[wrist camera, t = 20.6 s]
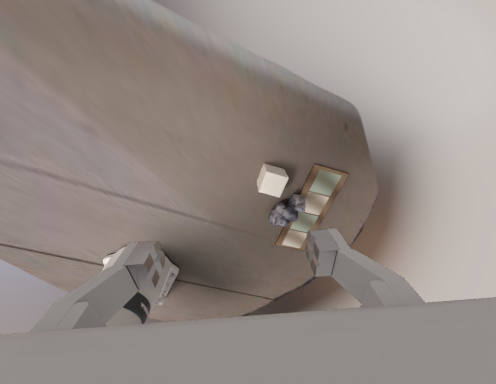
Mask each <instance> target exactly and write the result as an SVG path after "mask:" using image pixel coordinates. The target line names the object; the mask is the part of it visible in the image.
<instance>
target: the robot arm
mask: <svg viewBox="0 0 496 384" xmlns="http://www.w3.org/2000/svg"><path fill="white" fill-rule="evenodd" d="M307 238H308V240H307V241H306V245H305V249H306V254H307V257H308V260H310V261H311V267H312V270H313V272H314V275H315V277H318V276H332V278H334V279H335V280H336V281H337V282H338V283H339V284H340V285H341V286H342V287H344V288H345V289H346V290H347V291H348V292H349V293H350V294H351V295H353V296H354V297H355V298H356V299H357V300H358V301H359V302H360V303H361V304H362V305H361V307H360V308H348V309H334V310H322V311H307V312H296V313H282V314H268V315H256V316H242V317H228V318H214V319H201V320H187V321H174V322H160V323H147V324H144V323H145V322H146V320H147V318H148V315H149V314H150V313H151V312H152V311H153V309H154V307H155V305H156V304H157V305H163V303H164V300H165V297H166V295H167V294H168V292H169V290H170V288H171V286H172V284H173V282H174V280H175V278H176V276H177V274H178V272H179V268H178V267H177V266H175V265H174V264H172V263H171V262H170V261H169V259H168V258H167V257H166V256H165V254H164V252H163V251H161V250H160V249H161V247H162V246H161V244H160V242H159V241H148V242H131V243H129V244H128V245H127V246H126V247H123V248H121V249H120V250H118V251H117V252H116V253H114V254H111V255H108V256H106V257H105V258H104V260H103V263H104V266H105V267H104V268H103V270H102V272H100V273H99V274H97V275H96V276H94V277H93V278H91V279H90V280H88V281H87V282H85V283H84V284H82V285H81V286H79V287H78V288H76V289H75V290H73V291H72V292H70V293H69V294H67V295H66V296H64V297H63V298H61V299H60V300H58V301H57V302H55V303H54V304H53V305H52V306H51V307H50V309H49V310H48V311H47V312H46V313H45V315H44V316H43V317H42V318H41V319H40V320H39V321H38V323H37V324H36V325H35V326H34V327H33V328H32V330H31V331H30V332H26V333H13V334H0V384H496V297H494V298H482V299H468V300H455V301H443V302H428V303H425V302H424V301H423V300H422V298H421V297H420V296H419V295H418V294H417V292H416V291H415V290H414V289H413V288H412V287H411V286H410V284H409V283H408V282H407V281H406V280H405V279H404V278H403V277H401V276H400V275H398V274H396V273H395V272H393V271H391V270H389V269H388V268H386V267H384V266H382V265H381V264H379V263H377V262H375V261H373V260H372V259H370V258H368V257H367V256H365V255H363V254H361V253H360V252H358V251H356V250H354V249H350V247H349V246H348V244H347V243H346V241H345V240H344V239H343V237H342V236H341V234H340V233H339V231H338V230H337V229H336V228H330V229H320V230H308V231H307Z"/></svg>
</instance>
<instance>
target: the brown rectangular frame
mask: <svg viewBox="0 0 496 384" xmlns="http://www.w3.org/2000/svg"><path fill="white" fill-rule="evenodd" d="M348 176H349V174H348V173H345V172H341V171H338V170H334V169H331V168H327V167H324V166H321V165H317V164H314V166H313V168H312V170H311V172H310V174H309V176H308V178H307V180H306V182H305V184H304V186H303V188H302V190H301V192H300V194H299V195H300V196H303V197H304V199H305V203H306V204H305V205H306V207H305V212H304V213H301V212H299V211H298V219H297V221H295V222H291V221H290V223H289V225H288V226H286V227H283V229H282V231H281V233H280V235H279V237H278V239H277V241H276V243H275V245H276V246H281V247H286V248H291V249H296V250H301V251H304V250H305V245H306V241H307V240H308V238H307V231H308V230H316V229H317V228H318V226H319V224H320V223H321V221H322V219H323V218H324V216H325V214H326V213H327V211H328V209H329V208H330V206H331V204H332V203H333V201H334V199H335V197H336V196H337V194H338V192H339V191H340V189H341V187H342V186H343V184H344V182H345V181H346V179H347V177H348Z"/></svg>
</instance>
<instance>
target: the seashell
mask: <svg viewBox="0 0 496 384" xmlns="http://www.w3.org/2000/svg"><path fill="white" fill-rule="evenodd" d="M305 204H306V203H305V199H304V197H303V196H300V195H297V194H293V195H292V196H291V198H290V199H289V202H288V206H286V205H285V204H284V203H278V204H277V206H276V208H275V209H272V210H271V214H270V215H269V220H268V222H269V223H271V224H272V225H273V226H274V227H276V226H281V227H286V226H288V225H289V223H290V221H291V222H295V221H297V219H298V211H299V212H301V213H304V212H305V207H306V205H305Z"/></svg>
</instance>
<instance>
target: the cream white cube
mask: <svg viewBox="0 0 496 384" xmlns="http://www.w3.org/2000/svg"><path fill="white" fill-rule="evenodd" d="M288 179H289V177H288V176H287V174H286V172H285V170H284V169H282V168H278V167H275V166H272V165H268V164H265V163H264V164H263V167H262V169H261V172H260V175H259V177H258V180H257V187H258V192H261V193H264V194H268V195H272V196H276V197H279V198H280V196H281V194H282V192H283V189H284V187H285V185H286V183H287V181H288Z"/></svg>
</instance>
